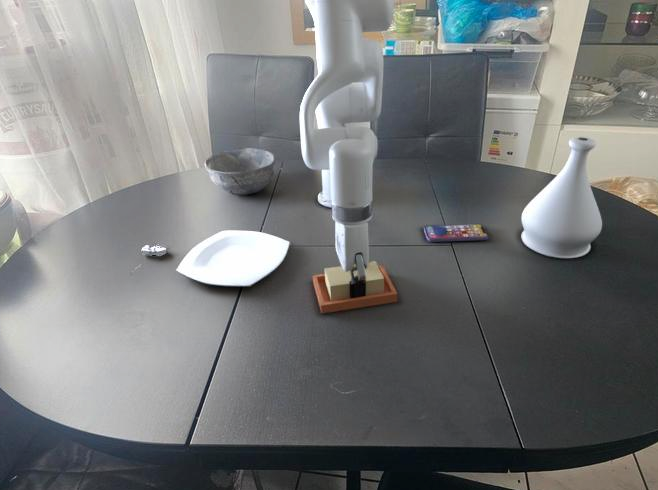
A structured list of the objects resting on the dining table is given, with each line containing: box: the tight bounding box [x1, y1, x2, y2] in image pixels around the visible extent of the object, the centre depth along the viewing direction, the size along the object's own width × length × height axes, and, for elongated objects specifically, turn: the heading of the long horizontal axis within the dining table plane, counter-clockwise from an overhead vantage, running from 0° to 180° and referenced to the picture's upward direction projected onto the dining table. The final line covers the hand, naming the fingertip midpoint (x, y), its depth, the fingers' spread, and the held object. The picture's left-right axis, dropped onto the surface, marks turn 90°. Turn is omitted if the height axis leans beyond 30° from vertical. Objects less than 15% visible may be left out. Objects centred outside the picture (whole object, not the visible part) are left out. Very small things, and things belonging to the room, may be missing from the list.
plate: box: [176, 229, 291, 288], centre depth 104 cm, size 23×23×2 cm
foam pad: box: [324, 260, 384, 301], centre depth 92 cm, size 6×11×4 cm, turn 102°
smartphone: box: [423, 223, 489, 243], centre depth 112 cm, size 1×7×15 cm
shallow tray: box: [312, 265, 398, 314], centre depth 93 cm, size 11×16×2 cm
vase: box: [520, 136, 603, 259], centre depth 101 cm, size 17×17×25 cm
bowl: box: [204, 147, 276, 195], centre depth 135 cm, size 21×21×10 cm
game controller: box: [130, 243, 168, 274], centre depth 105 cm, size 6×12×3 cm, turn 2°
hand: (353, 285), depth 93 cm, fingers closed on foam pad, 6 cm apart
